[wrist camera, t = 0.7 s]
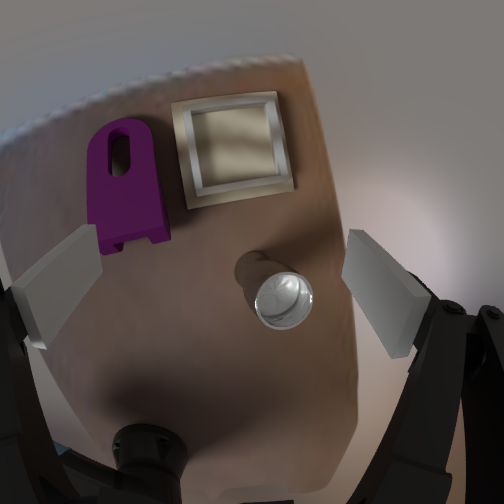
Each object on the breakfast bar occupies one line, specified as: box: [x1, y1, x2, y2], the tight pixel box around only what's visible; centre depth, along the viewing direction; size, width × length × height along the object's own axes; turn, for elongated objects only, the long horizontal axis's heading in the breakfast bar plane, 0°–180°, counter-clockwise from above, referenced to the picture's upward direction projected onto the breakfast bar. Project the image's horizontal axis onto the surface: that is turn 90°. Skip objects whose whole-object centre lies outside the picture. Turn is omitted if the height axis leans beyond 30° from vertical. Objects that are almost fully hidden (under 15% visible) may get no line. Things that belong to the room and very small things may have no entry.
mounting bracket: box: [87, 118, 171, 255], centre depth 38 cm, size 9×8×18 cm
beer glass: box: [234, 252, 313, 330], centre depth 39 cm, size 7×7×15 cm
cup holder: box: [171, 91, 294, 209], centre depth 40 cm, size 16×16×4 cm
